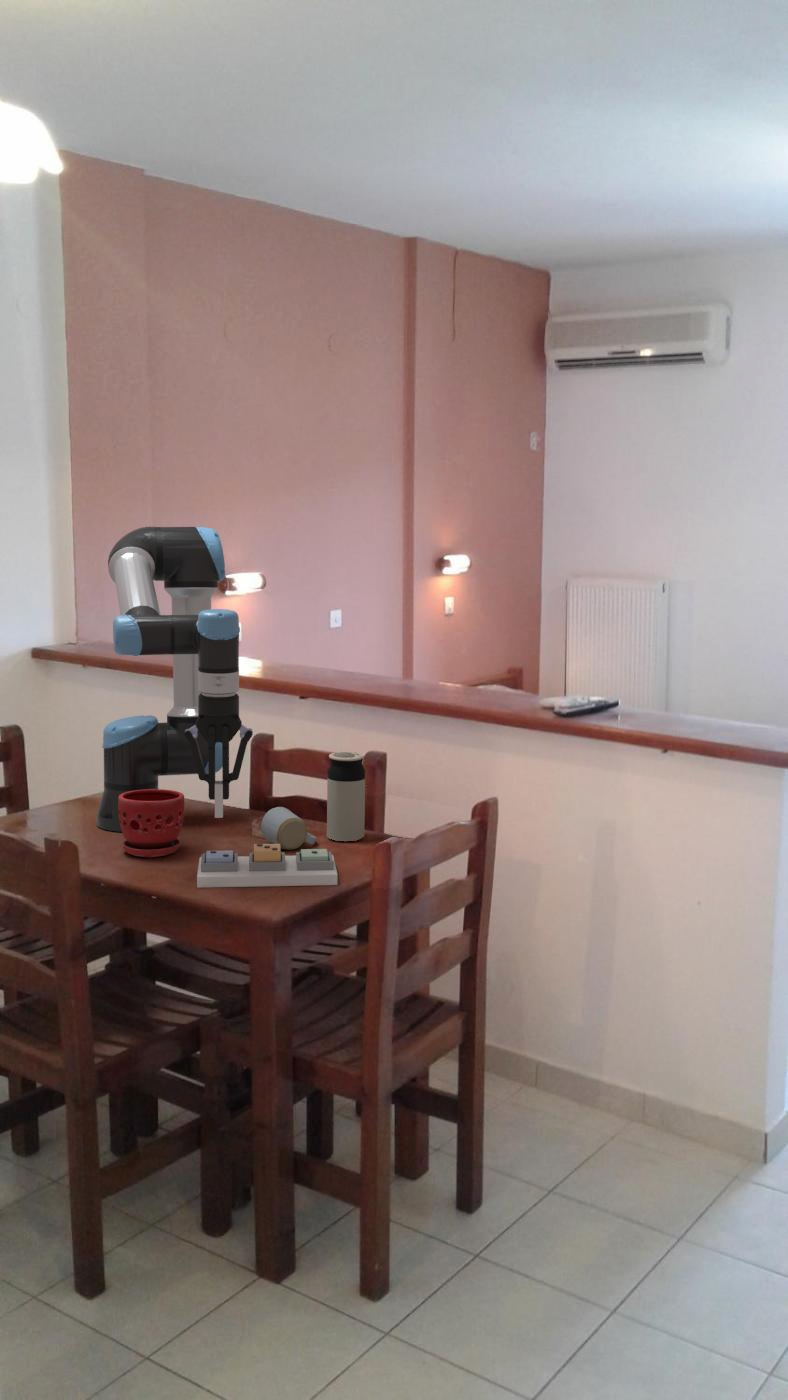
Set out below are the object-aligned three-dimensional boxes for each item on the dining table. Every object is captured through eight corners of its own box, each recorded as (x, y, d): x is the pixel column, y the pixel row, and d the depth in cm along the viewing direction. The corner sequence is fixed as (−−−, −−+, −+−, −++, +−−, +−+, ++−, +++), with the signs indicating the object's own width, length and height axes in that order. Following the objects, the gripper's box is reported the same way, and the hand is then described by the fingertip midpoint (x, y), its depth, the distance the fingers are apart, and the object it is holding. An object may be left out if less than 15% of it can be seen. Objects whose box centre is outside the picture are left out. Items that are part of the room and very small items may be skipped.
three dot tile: (253, 854, 244) (253, 843, 243) (280, 853, 244) (280, 842, 244) (254, 861, 239) (254, 850, 238) (280, 861, 239) (280, 849, 239)
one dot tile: (300, 859, 245) (300, 848, 244) (326, 858, 245) (326, 847, 245) (301, 866, 240) (301, 855, 240) (328, 866, 240) (328, 855, 240)
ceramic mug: (277, 853, 257) (278, 817, 256) (260, 844, 264) (260, 808, 262) (323, 848, 262) (324, 811, 261) (305, 838, 269) (306, 803, 268)
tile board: (199, 866, 247) (199, 849, 246) (332, 864, 250) (333, 847, 249) (197, 887, 234) (196, 868, 234) (337, 884, 237) (337, 866, 237)
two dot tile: (206, 860, 243) (206, 849, 242) (233, 860, 243) (232, 849, 243) (205, 868, 238) (205, 857, 237) (232, 868, 238) (232, 856, 238)
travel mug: (329, 843, 265) (329, 759, 262) (324, 833, 273) (325, 751, 270) (366, 842, 266) (368, 758, 263) (361, 832, 274) (362, 750, 271)
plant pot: (193, 856, 254) (192, 798, 252) (128, 863, 248) (127, 804, 246) (174, 839, 266) (173, 784, 264) (112, 846, 260) (110, 789, 258)
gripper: (182, 696, 231) (183, 821, 235) (254, 697, 232) (253, 821, 237) (184, 689, 238) (185, 810, 242) (253, 689, 240) (253, 810, 244)
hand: (218, 815), depth 240 cm, fingers closed
